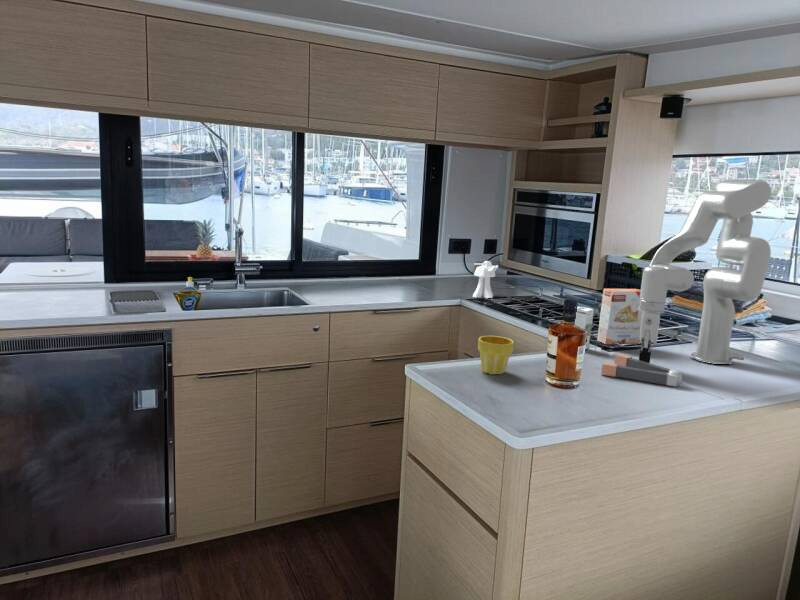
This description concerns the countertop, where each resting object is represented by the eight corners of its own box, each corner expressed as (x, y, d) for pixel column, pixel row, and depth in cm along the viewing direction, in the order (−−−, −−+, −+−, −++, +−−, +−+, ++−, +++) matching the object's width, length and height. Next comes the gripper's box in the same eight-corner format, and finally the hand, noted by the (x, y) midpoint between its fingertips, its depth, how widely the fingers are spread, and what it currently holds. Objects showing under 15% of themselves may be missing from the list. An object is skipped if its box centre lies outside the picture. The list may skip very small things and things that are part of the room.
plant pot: (518, 372, 177) (520, 341, 176) (496, 379, 170) (499, 346, 169) (490, 364, 185) (492, 333, 183) (468, 370, 178) (471, 338, 176)
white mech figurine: (464, 295, 303) (466, 260, 299) (484, 293, 310) (487, 259, 307) (479, 299, 293) (482, 263, 290) (500, 298, 300) (503, 262, 297)
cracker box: (605, 349, 210) (612, 290, 206) (595, 344, 215) (602, 287, 211) (639, 348, 213) (647, 291, 210) (629, 344, 219) (636, 287, 215)
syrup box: (573, 345, 213) (577, 305, 210) (589, 349, 209) (594, 308, 206) (566, 348, 208) (571, 307, 206) (583, 352, 205) (587, 310, 202)
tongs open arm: (672, 379, 177) (673, 369, 177) (666, 380, 176) (668, 370, 175) (619, 363, 192) (621, 353, 191) (614, 364, 190) (615, 354, 190)
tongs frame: (680, 384, 174) (682, 370, 174) (680, 388, 170) (682, 375, 169) (603, 371, 183) (604, 358, 183) (601, 375, 179) (602, 362, 178)
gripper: (663, 311, 177) (655, 371, 181) (665, 304, 191) (657, 359, 194) (636, 308, 181) (629, 366, 184) (640, 301, 194) (633, 355, 197)
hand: (644, 362), depth 189 cm, fingers closed
